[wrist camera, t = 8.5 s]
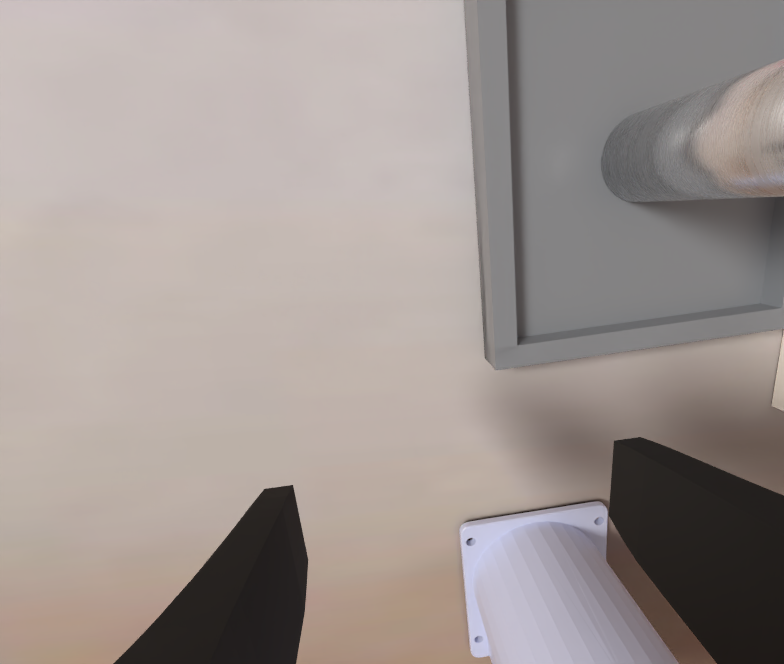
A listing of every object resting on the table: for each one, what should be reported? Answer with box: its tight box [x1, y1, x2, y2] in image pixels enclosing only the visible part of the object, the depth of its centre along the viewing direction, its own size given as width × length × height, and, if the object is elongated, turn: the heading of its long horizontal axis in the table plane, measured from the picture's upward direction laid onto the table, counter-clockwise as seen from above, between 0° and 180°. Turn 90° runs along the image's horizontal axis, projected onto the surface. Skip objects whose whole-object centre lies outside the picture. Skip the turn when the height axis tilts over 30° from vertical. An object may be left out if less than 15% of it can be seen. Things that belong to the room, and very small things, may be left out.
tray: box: [464, 0, 784, 370], centre depth 17 cm, size 16×14×2 cm
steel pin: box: [601, 59, 784, 202], centre depth 13 cm, size 4×4×9 cm
